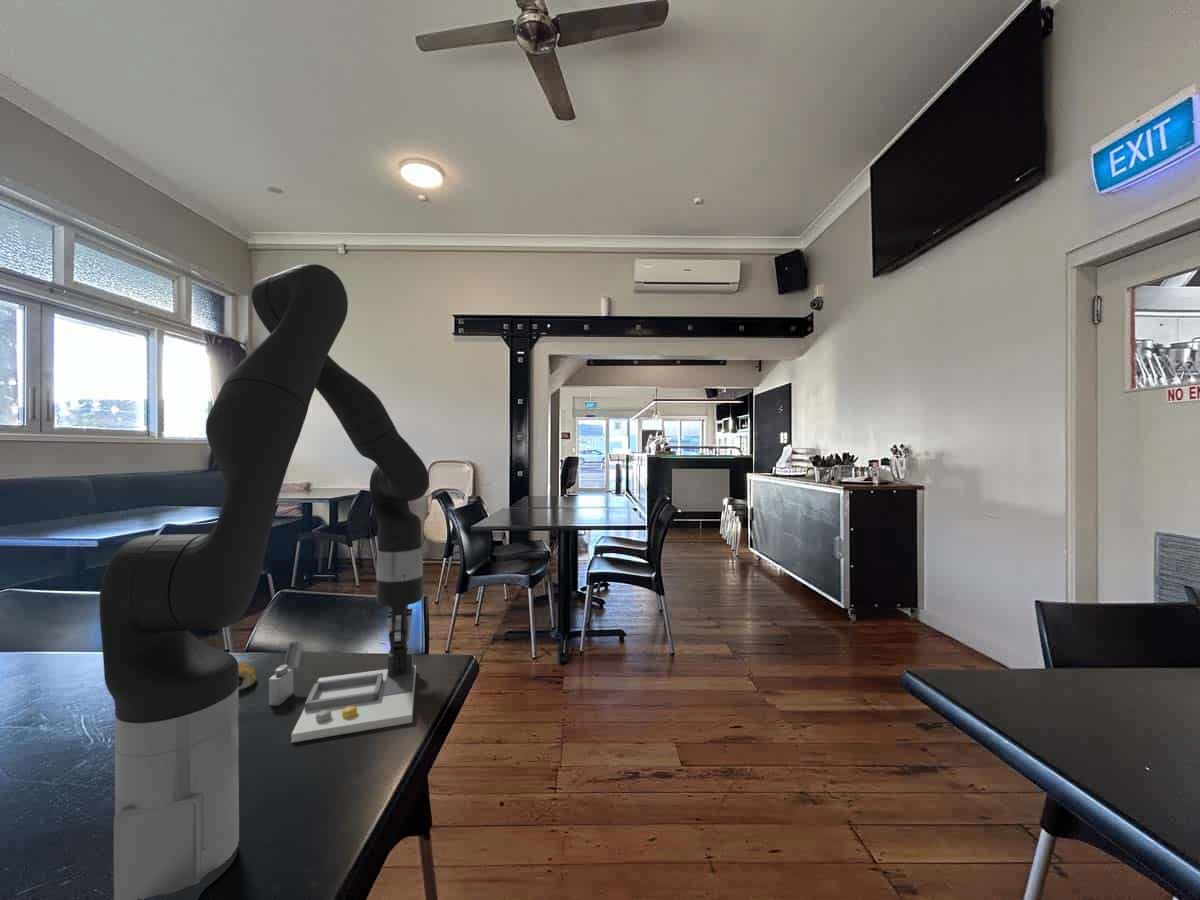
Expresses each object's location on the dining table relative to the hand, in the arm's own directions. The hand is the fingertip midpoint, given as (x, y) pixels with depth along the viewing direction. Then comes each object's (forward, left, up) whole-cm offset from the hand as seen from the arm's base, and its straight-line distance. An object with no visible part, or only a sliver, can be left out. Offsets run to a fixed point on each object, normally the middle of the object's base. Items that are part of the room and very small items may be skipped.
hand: (400, 672), depth 86 cm
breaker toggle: (+3, 0, -1) cm, 4 cm away
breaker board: (-4, +6, -2) cm, 7 cm away
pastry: (+11, +28, -3) cm, 30 cm away
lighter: (+3, +18, -3) cm, 19 cm away
